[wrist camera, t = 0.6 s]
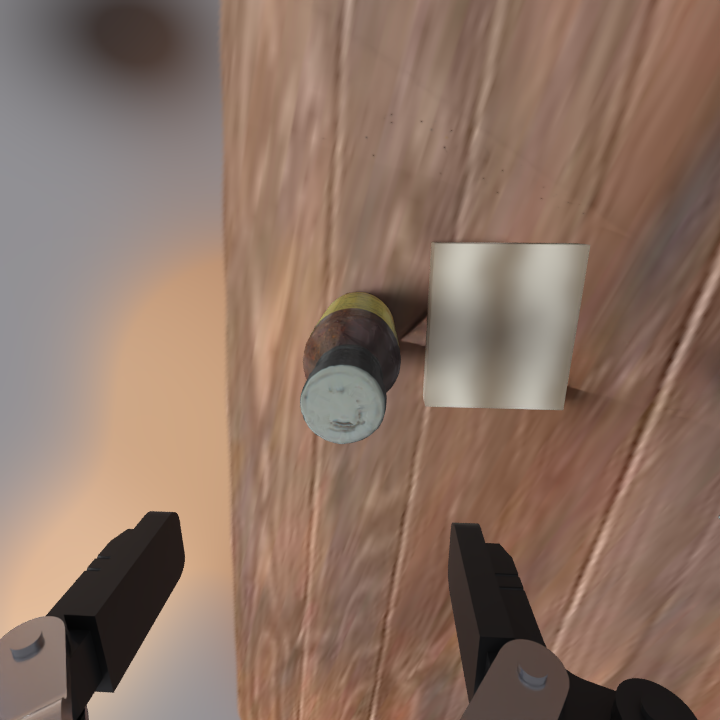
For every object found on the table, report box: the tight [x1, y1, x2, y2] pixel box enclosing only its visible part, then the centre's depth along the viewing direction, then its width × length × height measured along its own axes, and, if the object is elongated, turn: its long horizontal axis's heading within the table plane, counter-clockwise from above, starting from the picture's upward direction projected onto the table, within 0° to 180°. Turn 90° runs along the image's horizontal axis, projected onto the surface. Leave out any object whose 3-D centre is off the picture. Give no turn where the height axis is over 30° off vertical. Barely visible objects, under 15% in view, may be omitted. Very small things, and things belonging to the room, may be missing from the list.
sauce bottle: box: [300, 292, 401, 444], centre depth 29 cm, size 7×6×20 cm
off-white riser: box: [423, 242, 590, 410], centre depth 37 cm, size 12×14×3 cm
